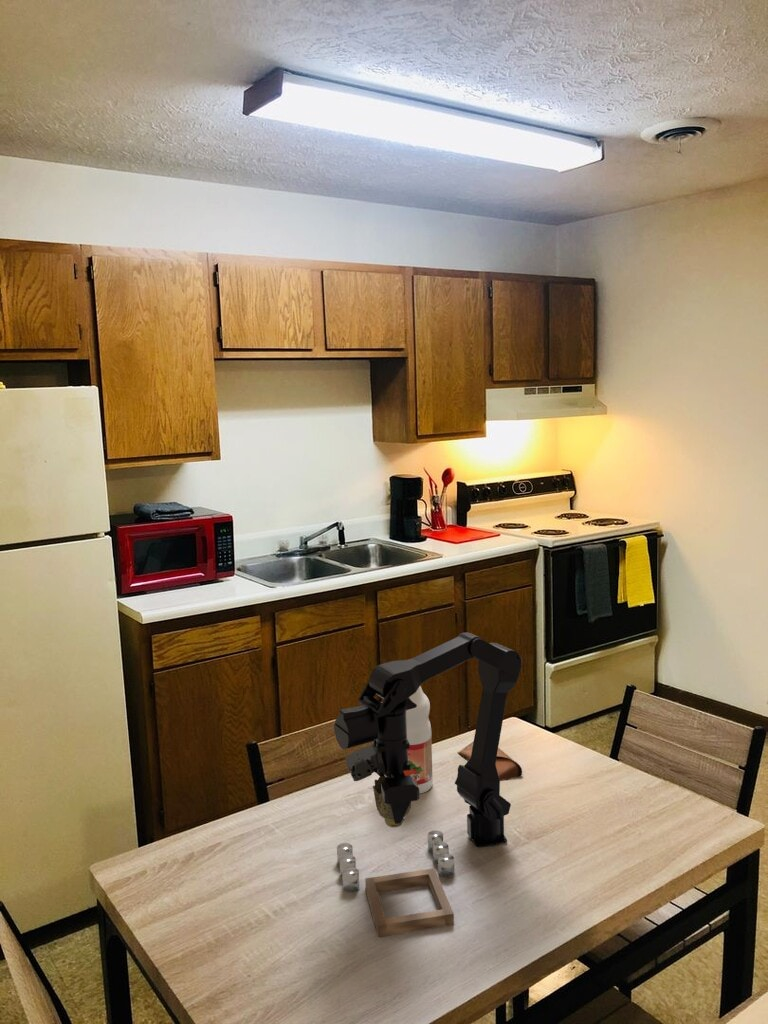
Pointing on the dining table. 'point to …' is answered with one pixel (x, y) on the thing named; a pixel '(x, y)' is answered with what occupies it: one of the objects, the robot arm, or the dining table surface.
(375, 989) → the dining table surface
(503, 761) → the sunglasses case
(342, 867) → the spacer posts
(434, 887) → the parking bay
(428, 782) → the white plastic bottle
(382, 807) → the ornate brass lampshade
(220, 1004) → the dining table surface
